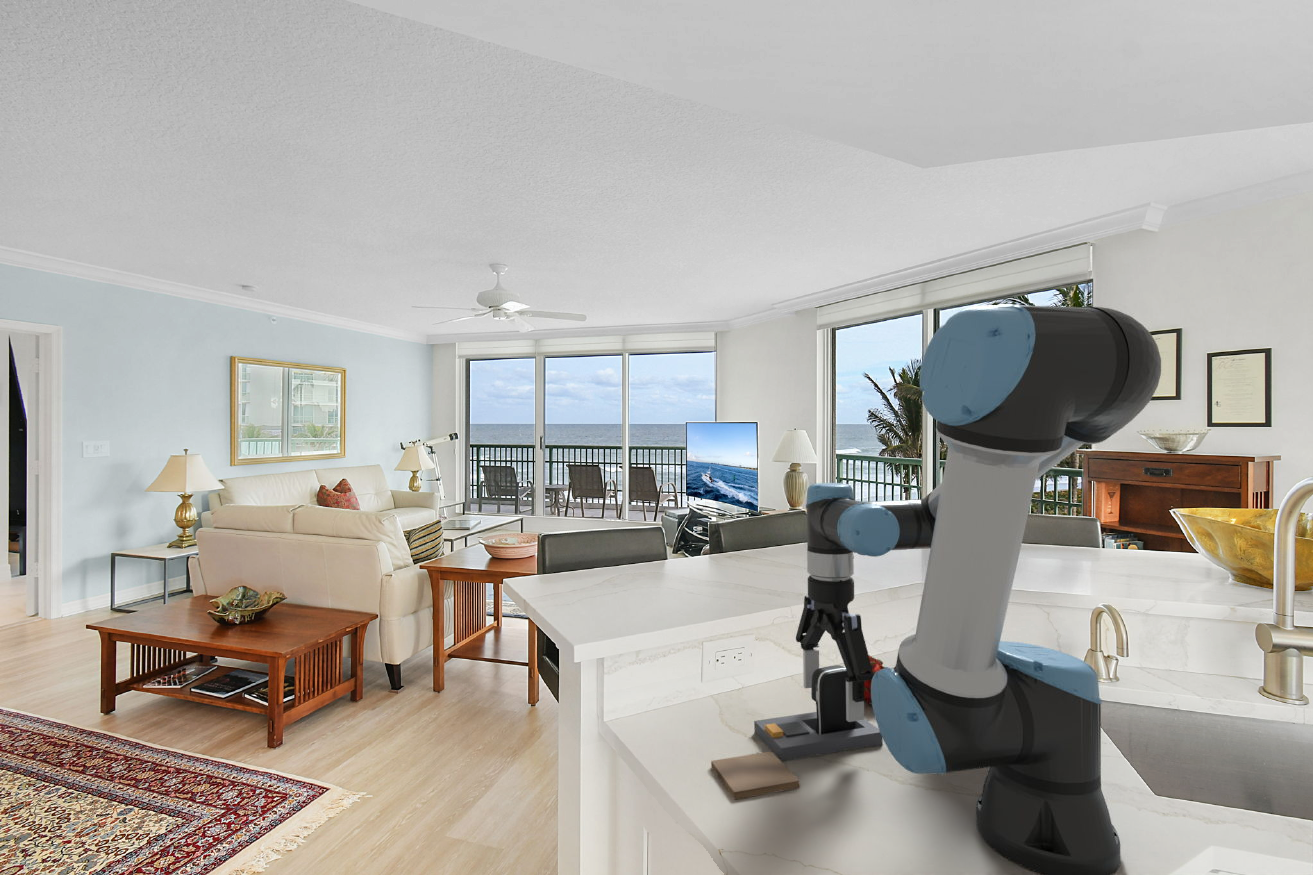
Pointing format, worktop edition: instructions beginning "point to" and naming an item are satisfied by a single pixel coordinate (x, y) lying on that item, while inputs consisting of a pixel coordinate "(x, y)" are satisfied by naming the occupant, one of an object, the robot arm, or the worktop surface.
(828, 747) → the grey flat piece
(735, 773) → the walnut board
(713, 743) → the worktop surface
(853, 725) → the battery charger
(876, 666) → the dragon fruit
